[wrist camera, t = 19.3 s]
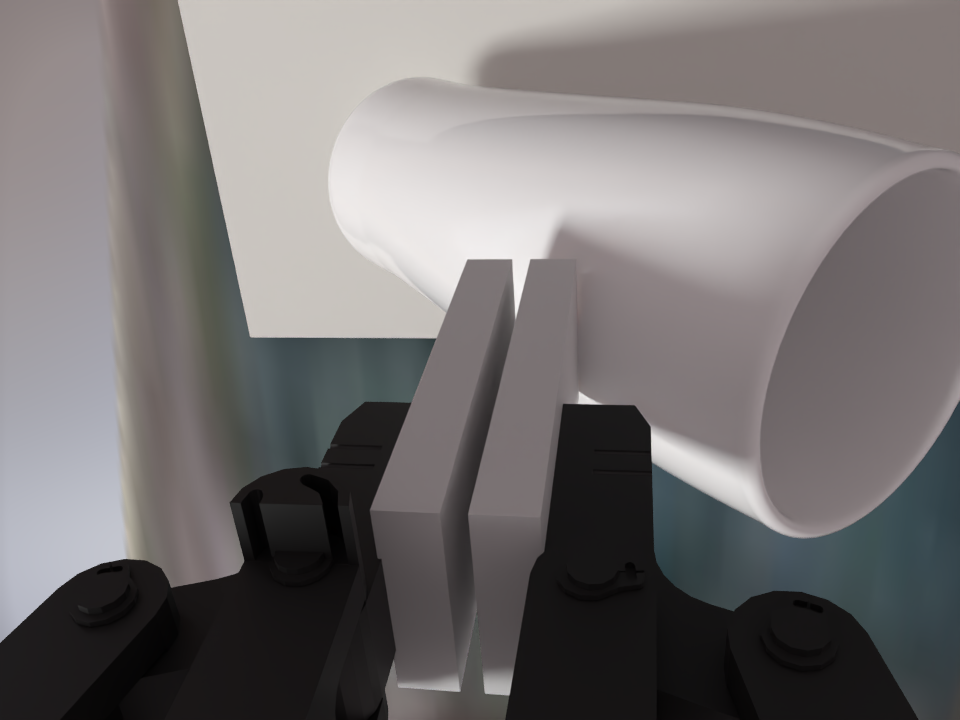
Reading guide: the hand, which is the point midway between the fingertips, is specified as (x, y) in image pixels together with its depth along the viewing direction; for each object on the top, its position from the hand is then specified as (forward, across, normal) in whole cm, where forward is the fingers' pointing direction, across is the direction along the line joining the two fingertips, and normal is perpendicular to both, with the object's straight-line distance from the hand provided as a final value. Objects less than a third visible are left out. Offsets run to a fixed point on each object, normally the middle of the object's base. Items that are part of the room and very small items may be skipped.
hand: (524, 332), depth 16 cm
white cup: (+11, -5, -1) cm, 12 cm away
